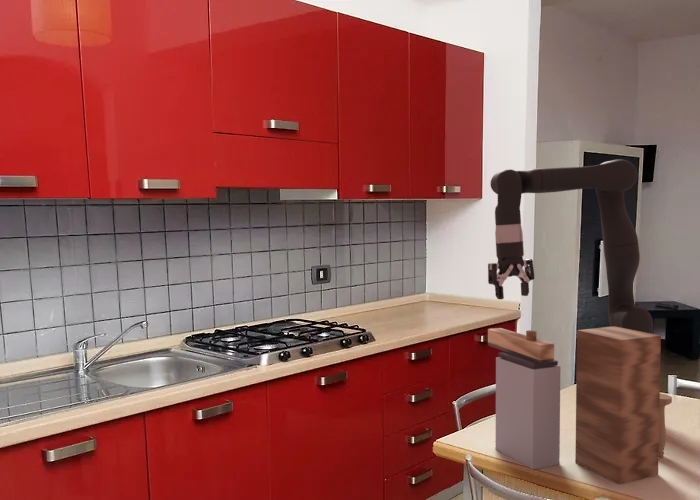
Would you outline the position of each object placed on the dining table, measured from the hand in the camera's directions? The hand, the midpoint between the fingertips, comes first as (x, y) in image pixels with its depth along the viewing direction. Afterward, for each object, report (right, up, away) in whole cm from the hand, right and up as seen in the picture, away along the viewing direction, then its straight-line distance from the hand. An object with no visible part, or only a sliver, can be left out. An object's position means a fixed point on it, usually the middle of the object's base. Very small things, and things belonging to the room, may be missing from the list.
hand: (512, 297), depth 170 cm
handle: (+29, -37, -23) cm, 53 cm away
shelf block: (+16, -38, -30) cm, 51 cm away
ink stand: (-3, -37, -22) cm, 44 cm away
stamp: (-4, -12, -20) cm, 24 cm away
